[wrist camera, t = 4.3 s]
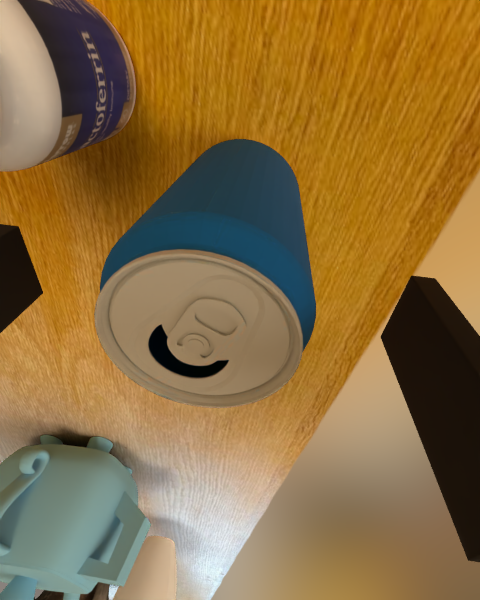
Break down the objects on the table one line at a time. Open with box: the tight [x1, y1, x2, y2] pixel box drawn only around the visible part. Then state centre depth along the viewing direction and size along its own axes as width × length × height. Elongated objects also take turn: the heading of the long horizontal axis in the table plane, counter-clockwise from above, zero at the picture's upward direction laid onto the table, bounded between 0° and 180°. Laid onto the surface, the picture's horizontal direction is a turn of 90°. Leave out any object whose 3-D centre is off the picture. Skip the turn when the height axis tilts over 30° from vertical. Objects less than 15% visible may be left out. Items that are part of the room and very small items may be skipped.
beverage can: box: [94, 139, 316, 408], centre depth 13 cm, size 6×6×12 cm
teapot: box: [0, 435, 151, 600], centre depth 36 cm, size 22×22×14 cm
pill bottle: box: [0, 0, 136, 171], centre depth 11 cm, size 6×6×10 cm
